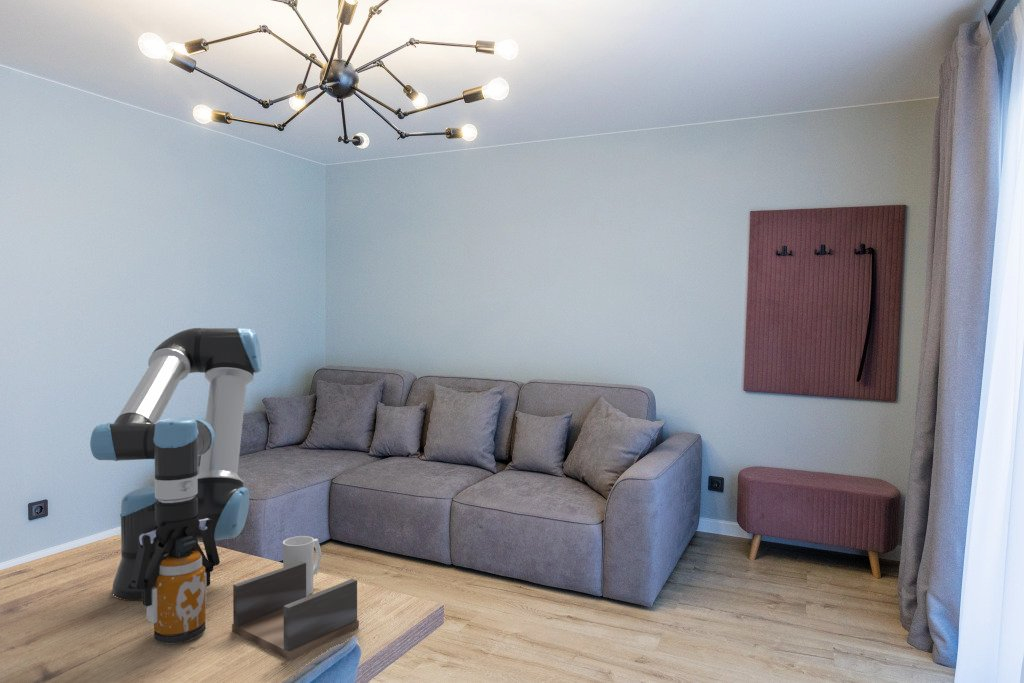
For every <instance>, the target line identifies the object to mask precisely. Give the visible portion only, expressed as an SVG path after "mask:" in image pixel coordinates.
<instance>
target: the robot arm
mask: <svg viewBox="0 0 1024 683" xmlns="http://www.w3.org/2000/svg"><path fill="white" fill-rule="evenodd" d="M147 363H148V368H147V369H146V371H145V373H144V375H142V377H141V379H140V381H139V382H138V384H137V386H136V387H135V389H134V391H133V392H132V393H131V395H130V397H129V398H128V400H127V402H126V404H124V406H123V408H122V409H121V411H120V413H119V415H118V416H117V418H116V419H115V421H114V422H113V423H111V422H108V423H104V424H101V423H100V424H99V425H96V426H95V427H94V429H93V430H92V431H91V432H92V433H91V436H90V442H89V446H90V450H91V451H90V452H91V454H92V457H93V458H95V459H96V460H99V461H114V462H118V461H120V462H121V461H137V460H138V461H140V460H154V484H153V485H150V486H149V485H148V486H145V487H141V488H138V489H135V490H133V491H129V492H128V493H127V494H125V495H124V497H123V498H122V500H121V506H120V507H121V509H120V513H119V518H120V546H121V551H120V552H121V556H120V557H121V558H120V562H119V564H118V568H117V571H116V573H115V576H114V579H113V582H112V595H113V594H114V596H116V597H118V598H121V599H120V600H122V599H125V600H124V601H141V604H142V605H143V606H145V608H146V620H147V621H149V622H150V623H152V624H154V623H156V622H157V588H156V587H154V583H155V581H156V579H157V576H158V574H159V572H160V565H161V562H162V560H164V559H165V558H166V556H167V555H166V554H168V553H169V552H170V550H171V548H174V541H175V540H176V539H177V538H178V537H182V536H192V537H193V541H194V540H195V541H196V542H197V544H196V546H193V547H192V549H191V550H194V551H199V552H200V554H201V555H202V565H203V566H204V567H205V606H207V596H208V595H207V594H208V592H207V587H210V584H211V572H213V571H214V567H215V566H220V563H221V561H220V555H219V552H218V548H217V545H216V541H221V540H227V539H229V540H230V539H234V538H236V537H238V536H239V535H240V533H242V532H243V529H244V527H245V525H246V521H247V517H248V514H249V508H250V497H251V496H250V490H249V489H248V488H247V487H245V486H244V480H243V479H242V478H241V477H240V476H239V475H238V473H239V463H240V453H241V452H240V451H241V442H242V432H243V422H244V411H245V402H246V391H247V385H249V384H250V383H251V382H253V380H254V374H257V373H260V372H261V371H262V366H263V364H262V353H261V346H260V340H259V337H258V334H257V332H256V331H255V330H253V329H252V328H240V327H236V328H235V327H234V328H233V327H230V328H228V327H225V328H222V327H220V328H219V327H218V328H217V327H216V328H215V327H210V328H208V327H207V328H206V327H203V328H202V327H193V328H187V329H185V330H181V331H180V332H176V333H174V334H173V335H171V336H170V337H168V338H167V339H165V340H163V341H162V342H161V343H160V344H159V345H158V346H157V347H155V349H154V350H153V351H152V353H151V355H150V356H149V359H148V362H147ZM192 373H200V374H201V373H204V378H205V380H207V381H208V382H209V390H208V398H207V405H206V406H207V407H206V413H205V420H202V419H194V418H191V417H170V418H166V419H165V418H164V419H163V418H162V415H163V413H164V411H165V409H166V408H167V405H168V404H169V402H170V400H171V399H172V396H173V395H174V393H175V391H176V389H177V387H178V385H179V383H180V381H183V380H184V379H186V378H187V377H188V375H189V374H192ZM160 418H162V419H160ZM198 457H200V462H199V463H198V460H199V458H198ZM198 464H199V471H198ZM157 541H158V542H157ZM199 541H202V543H203V546H204V550H205V553H204V551H203V549H202V548H201V546H200V544H199ZM155 542H157V545H155ZM164 555H166V556H164ZM114 596H113V597H114ZM116 597H115V598H116ZM118 598H117V599H118Z"/></svg>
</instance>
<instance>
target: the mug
mask: <svg viewBox="0 0 1024 683" xmlns="http://www.w3.org/2000/svg"><path fill="white" fill-rule="evenodd" d="M315 552H316V557H315V556H314V555H315ZM314 557H315V559H314ZM314 560H315V562H314ZM321 560H322V549H321V545H320V543H319V538H314V537H312V536H310V535H309V536H308V535H298V536H292V537H288V538H286V539H284V540H283V541H282V561H283V562H282V566H283V567H282V568H284V567H287V566H290V565H293V564H295V563H298V562H301V561H302V562H305V563H306V597H307V596H310V595H312V593H313V591H314V576H315V575H317V574H318V572H319V568H320V565H321Z"/></svg>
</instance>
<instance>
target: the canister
mask: <svg viewBox="0 0 1024 683" xmlns="http://www.w3.org/2000/svg"><path fill="white" fill-rule="evenodd" d="M157 542H158V541H157ZM157 542H155V545H157ZM196 544H197V542H196V541H195V540H194V541H193V537H192V536H182V537H178V538H177V539H176V540H175V541H174V548H171V550H170V552H169V553H168V554H166V555H167V556H166V555H164V556H166V558H165V559H164V560H162V562H161V565H160V572H159V574H158V576H157V579H156V581H155V583H154V587H156V588H157V622H156V623H153V630H154V631H153V639H154V641H155V642H157V643H162V644H171V645H173V644H174V645H175V644H176V645H177V644H181V643H186V642H188V641H191V640H193V639H195V638H197V637H199V636H200V635H202V634H203V633H205V631H206V629H207V628H206V627H207V626H206V618H207V617H206V605H205V567H204V566H203V565H202V555H201V554H200V552H199V551H194V550H191V549H192V547H193V546H196Z"/></svg>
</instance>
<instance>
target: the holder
mask: <svg viewBox="0 0 1024 683" xmlns="http://www.w3.org/2000/svg"><path fill="white" fill-rule="evenodd" d="M232 590H233V591H232V592H233V593H232V599H233V600H232V601H233V603H232V604H233V606H232V607H233V608H232V609H233V610H232V611H233V612H232V613H233V614H232V615H233V617H232V618H233V619H232V620H233V623H232V624H231V632H232V633H234V634H236V635H238V636H240V637H242V638H244V639H247V641H250V642H252V643H254V644H256V645H258V646H260V647H262V648H264V649H265V650H268V651H270V652H272V653H275V654H276V655H278V656H281V657H282V658H284V659H286V660H289V661H292V660H295V659H296V658H298V657H301V656H304V654H308V653H310V652H311V651H313V650H316V649H317V648H320V647H322V646H324V645H326V644H328V643H330V642H332V641H334V640H336V639H338V638H341V637H343V636H344V635H347V634H349V633H351V632H353V631H355V630H357V629H359V628H360V620H359V619H358V580H357V579H354V578H351V579H348V580H346V581H343V582H341V583H338V584H335V585H333V586H330V587H328V588H325V589H323V590H321V591H320V590H319V591H318V592H316V593H313V594H312V593H311V594H310V595H308V596H306V563H305V562H302V561H301V562H298V563H295V564H293V565H290V566H287V567H284V568H283V567H282V568H279V569H278V568H277V569H275V570H273V571H270V572H266V573H264V574H260V575H258V576H255V577H252V578H249V579H246V580H243V581H240V582H238V583H237V582H236V583H234V584H233V585H232ZM358 627H359V628H358ZM356 628H357V629H356ZM354 629H355V630H354ZM352 630H353V631H352Z"/></svg>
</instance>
